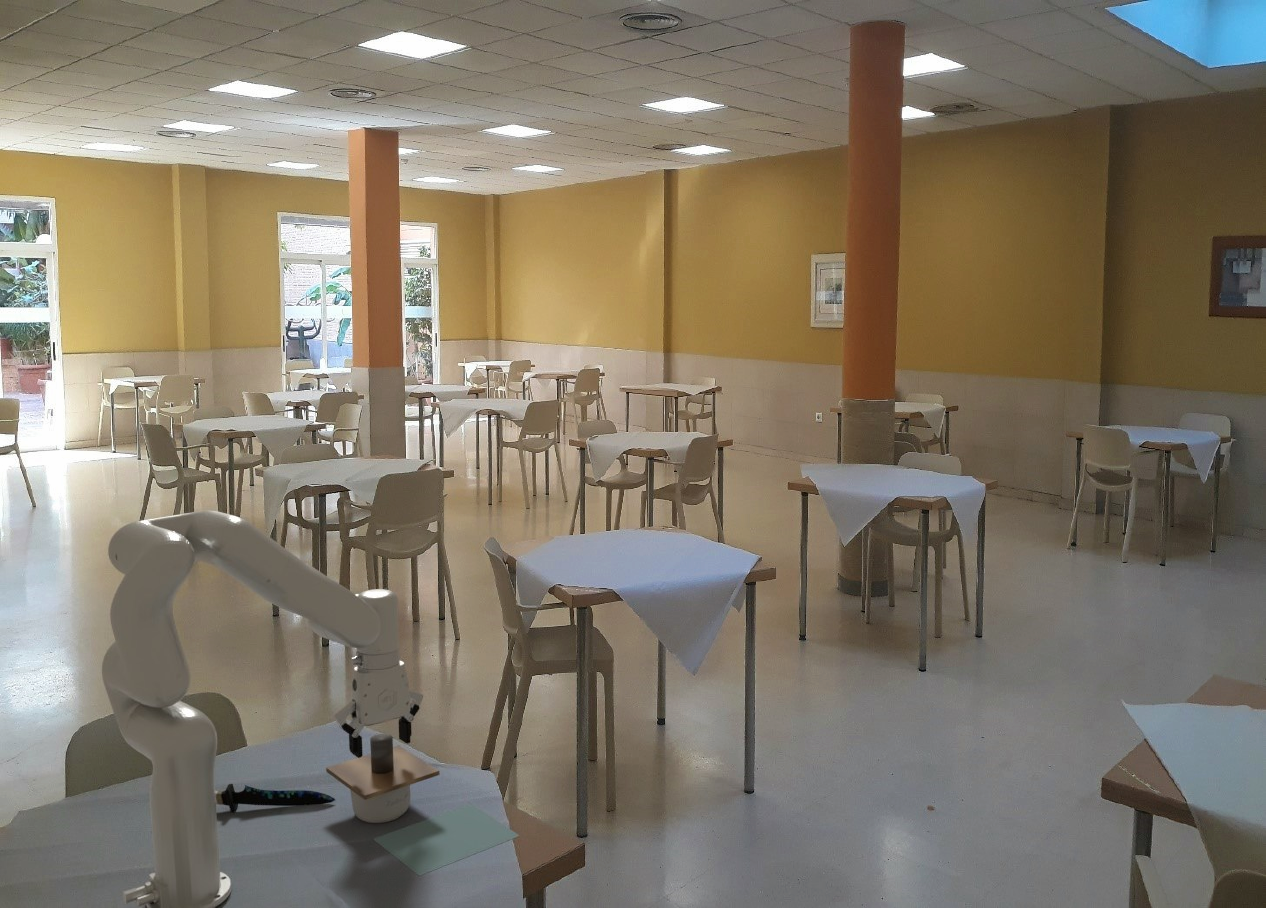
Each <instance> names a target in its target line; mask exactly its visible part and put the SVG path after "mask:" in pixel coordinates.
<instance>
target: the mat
mask: <svg viewBox="0 0 1266 908" xmlns="http://www.w3.org/2000/svg"><path fill="white" fill-rule="evenodd" d="M520 836H521V835H520V834H518V833H517V832H515V831H514V830H512V829H510V828H509V827H507V826H506V825H505V824H503V823H501V822H500V821H499V820H497V819H495V818H493V817H492V816H490V815H489V814H488V813H486V812H484V811H483V810H482V809H480V808H479V807H477V806H476V805H474V804H472V803H469V804H466V805H463V806H460V807H457V808H455V809H452V810H449V811H447V812H443V813H440V814H437V815H436V816H435V815H434V816H432V817H429V818H427V819H424V820H422V821H419V822H416V823H413V824H411V825H407V826H405V827H403V828H399V829H397V830H393V831H390V832H388V833H385V834H383V835H379V836H376V837H375V838H372V840H374V841H375V842H376V843H377V844H378V845H380V846H381V847H382V848H384V849H385V850H386V851H388V853H390V854H391V855H392V856H393V857H395V858H396V859H397V860H398V861H400V862H401V863H402V864H403V865H404V866H405V867H407V868H408V869H409V870H410V871H412V873H415V874H416V875H417V876H418V877H420V876H423V875H425V874H429V873H430V872H433V871H435V870H438V869H440V868H443V867H446V866H448V865H450V864H453V863H456V862H458V861H461V860H463V859H465V858H468V857H471V856H473V855H477V854H479V853H481V852H483V851H486V850H488V849H491V848H493V847H496V846H498V845H502V844H503V843H505V842H508V841H511V840H514V839H516V838H518V837H520Z"/></svg>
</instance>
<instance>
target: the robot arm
mask: <svg viewBox="0 0 1266 908" xmlns="http://www.w3.org/2000/svg"><path fill="white" fill-rule="evenodd" d="M107 551H108V552H107V554H108V557H109V558H108V559H109V560H110V563H111V564H112V565H113V567H114V568H115V569H116V570H117V571H118V572H120V573H121V574H123V575H124V576H123V578H122V580H121V581H120V582H119V583H120V584H119V585H118V587H117V589H116V591H115V593H114V595H113V598H112V602H111V604H110V605H111V606H110V610H109V611H110V613H109V616H110V620H109V621H110V626H111V630H112V634H113V636H114V642H113V643H112V644H111V645H110V646H109V648H108V649H107V650H106V652H105V654H104V655H103V656H104V657H103V659H102V664H101V676H102V681H103V685H104V687H105V691H106V694H107V698H108V700H109V704H110V707H111V709H112V712H113V714H114V718H115V720H116V723H117V726H118V728H119V731H120V733H121V735H122V737H123V740H125V742H126V743H127V744H128V745H129V746H130V747H131V748H133V750H136V752H138V753H139V754H142V755H143V756H145V758H147V759H148V760H150V761H151V763H152V774H151V778H150V784H149V789H148V790H149V793H148V794H149V795H148V796H149V797H148V801H149V812H150V824H151V825H150V826H151V836H152V837H151V838H152V839H151V840H152V849H153V850H152V853H153V854H152V855H153V865H154V872H152V873H149V874H148V877H149V878H148V879H149V880H148V881H146V882H143V885H141V886H138V887H133V888H131V889H128V890H125V891H123V892H122V900H123V903H124V904H125V905H128V904H131V903H134V902H135V903H136V906H137V907H139V908H140V907H142V906H144V905H146V908H216V907H218V906H219V905H221V904H223V902H224V901H225V900H227V898H228V897H229V896H230V894H231V892H232V880H231V878H230V877H229V875H228V874H225V873H224V872H223V871H221V866H220V849H219V835H218V834H219V833H218V820H217V817H218V816H217V815H218V814H217V804H216V800H215V791H216V790H215V789H216V786H215V766H216V757H217V751H218V750H217V749H218V733H217V729H216V727H215V725H214V723H213V721H212V720H211V719H210V718H209V717H208V716H207V715H206V714H205V713H204V712H202V711H201V710H199V709H198V708H195V707H193V706H192V705H191V704H188V703H186V702H183V701H182V700H183V698H185V696H186V695H187V694H188V691H189V688H190V685H191V672H190V666H189V663H188V660H187V657H186V655H185V651H184V648H183V645H182V641H181V639H180V636H179V633H178V629H177V627H176V621H175V618H174V617H175V616H174V613H173V611H174V610H173V607H174V601H175V598H176V596H177V594H178V592H179V590H180V589H181V587H182V586H183V584H184V582H185V581H186V580H187V578H189V576H190V574H191V572H192V571H193V568H194V564H195V563H196V562H200V561H201V562H204V563H206V564H209V565H212V566H215V567H216V568H217V569H219V570H220V571H222V572H224V573H225V574H227V575H228V576H230V577H231V578H233V579H234V580H236V581H238V583H241V584H242V585H243V586H245V587H246V588H248V589H250V590H251V591H252V592H254V594H256V595H257V596H259V597H261V598H262V599H264V600H265V601H267V602H268V603H270V604H272V605H274V606H276V607H279V608H280V609H282V610H285V611H287V612H290V613H293V614H296V615H297V616H300V617H303V618H305V619H306V620H307V621H308V625H309V627H310V629H311V630H312V631H313V633H315V634H316V636H317V635H318V636H319V637H321V638H324V639H326V640H329V641H332V642H335V643H337V644H341V645H343V646H346V647H348V648H351V649H355V656H354V657H351V658H350V659H349V662H350V665H351V666H355V667H354V669H353V672H352V679H351V686H350V702H349V703H348V704H346V705H345V706H344V707H343V708H342V709H340V710H339V711H338V712H336V713H335V714H334V715H333V717H334V718H333V719H334V720H335V721H336V723H337V725H338V727H339V728H340V729H341V730H342V731H344V732H345V733H347V734H348V747H349V748H348V749H349V751H350V753H351V755H353V756H355V757H356V758H360V757H362V756H364V755H363V736H362V735H360V734H361V732H362V730H363V729H364V727H368V726H369V727H370V726H374V725H378V724H383V723H386V722H389V721H394V720H396V719H398V739H399V740H400V741H401V742H404V743H405V744H411V737H412V733H413V732H412V722H413V721H414V720H415V716H416V714H417V713H418V712H419V710H420V706H421V704H422V701H423V699H424V694H422V693H421V692H419V691H414V690H412V689H410V685H409V679H408V678H409V677H408V673H407V669H406V665H405V662H404V661H402V660H400V659H401V658H400V631H399V630H400V627H399V626H400V625H399V623H400V622H399V598H398V596H397V594H396V593H395V591H393V590H390V589H385V588H384V589H383V588H377V589H376V588H375V589H374V588H373V589H368V590H364V591H362V592H360V593H354V592H353V591H351V590H349V588H346V586H343V585H341V584H340V583H338V582H337V581H335V580H333V579H332V578H330V577H328V576H327V575H326V574H324V573H322V572H321V571H320V570H318V569H316V568H315V567H314V566H312V565H310V564H309V563H307V562H305V561H303V560H302V559H300V558H299V557H298V556H296V555H294V553H292V552H291V551H289V550H288V549H286V548H285V547H284V546H282V545H281V544H279V543H278V542H277V541H276V540H274V539H273V538H271V537H270V536H269V535H267V533H265V532H263V531H262V530H261V529H259V528H258V527H257V526H255V525H254V524H252V522H250V521H248V520H246V519H244V518H242V517H239V516H237V515H233V514H230V513H229V514H228V513H225V512H221V511H217V510H212V509H211V510H209V509H208V510H207V509H206V510H198V511H193V512H186V513H180V514H174V515H169V516H168V515H167V516H162V517H156V518H155V517H154V518H148V519H142V520H137V521H134V522H130V523H128V524H126V525H123V526H122V527H120V528H119V529H118V530H117V531H115V533H114V534H113V536H111V538H110V541H109V544H108V548H107ZM411 699H412V701H411ZM348 716H351V721H350V722H349V723H348V722H347V718H348Z"/></svg>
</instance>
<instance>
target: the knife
mask: <svg viewBox="0 0 1266 908" xmlns="http://www.w3.org/2000/svg"><path fill="white" fill-rule="evenodd" d="M215 800H216V805H219V806H220V805H223V806H227V807H228V808H229V810H230V812H231V814H233V813H236V810H237V809H238V807H239V805H248V806H249V805H250V806H269V807H270V806H273V807H275V806H277V807H280V806H281V807H292V806H293V807H297V806H300V807H301V806H315V805H317V806H318V805H324V804H330V803H333V802H335V801H336V799H335V798H334V797H333V796H331V795H329V794H325V793H323V792H319V791H314V790H305V789H304V790H303V789H302V790H301V789H300V790H299V789H298V790H297V789H295V790H293V789H292V790H289V789H288V790H275V789H273V790H272V789H270V790H268V789H260V788H256V787H251V786H249V785H247V784H246V785H244V788H243V790H241V791H238V792H237V791H235V787H234V784H233V783H229V784H228V785H227V786H226V788H225V790H224V791H221V790H215Z"/></svg>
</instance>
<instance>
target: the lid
mask: <svg viewBox="0 0 1266 908" xmlns="http://www.w3.org/2000/svg"><path fill="white" fill-rule="evenodd" d="M369 739H370V741H369V742H370V743H369V744H370V745H369V746H370V754H365V755H363V756H362V757H360V758H358V757H356V758H352V759H350V760H345V761H343V762H341V763H337V764H333V765H331V766H327V767H325V771H326V773H327V774H329V775H330V776H332V777H333V778H334V779H335V780H337V781H338V782H340V783H341V784H343V785H344V786H345V787H347V788H348V789H349V790H350V789H351V790H352V791H353V792H355V793H356V794H357V795H359V796H360V797H361V798H363V799H364V800H366V799H369V798H372V797H375V796H378V795H381V794H384V793H387V792H390V791H393V790H396V789H399V788H402V787H405V786H408V785H410V786H411V785H413V784H417V783H419V782H423V781H425V780H428V779H431V778H434V777H436V776H440V770H439V769H437V768H436V767H434V766H433V765H431V764H429V763H428V762H426V761H425V760H424V759H421V758H420V757H418V756H417V755H415V754H414V753H412V752H410V751H409V750H407V749H405V748H404V747H402V746H400V745H399V744H398V745H396V746H394V741H393V740H394V739H393V735H392V734H389V733H377V734H374V735H372V736H370V738H369Z"/></svg>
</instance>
